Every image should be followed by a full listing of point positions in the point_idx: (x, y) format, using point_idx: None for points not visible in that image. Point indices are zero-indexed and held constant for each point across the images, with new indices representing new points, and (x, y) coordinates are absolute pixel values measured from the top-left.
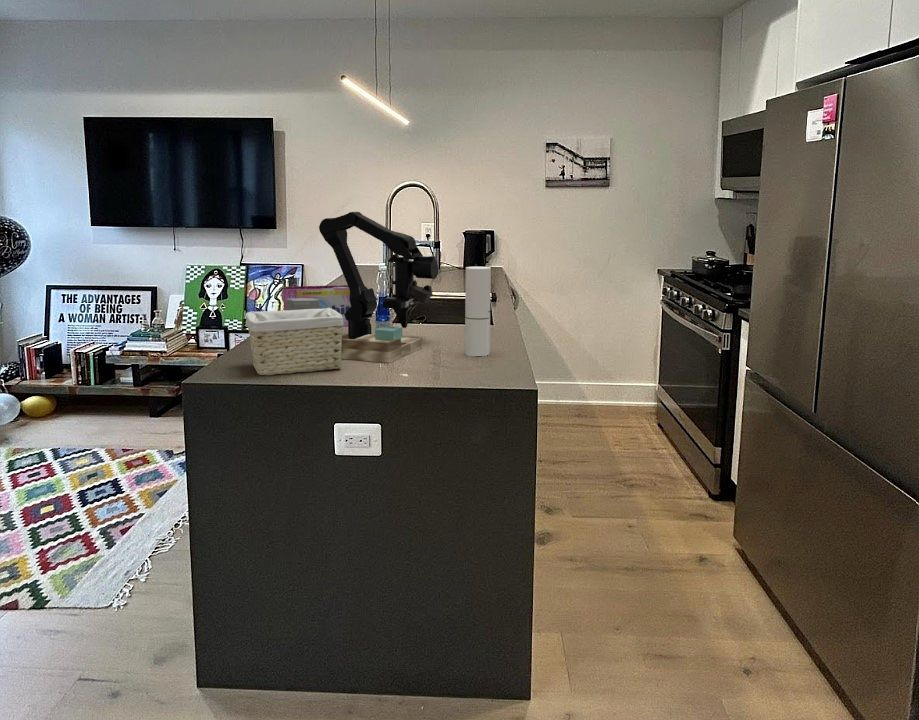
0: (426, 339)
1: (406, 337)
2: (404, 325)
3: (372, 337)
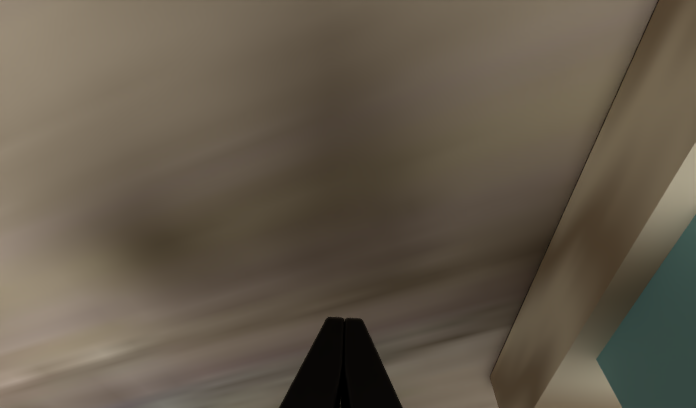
0: (98, 68)
1: (693, 163)
2: (370, 352)
3: None
